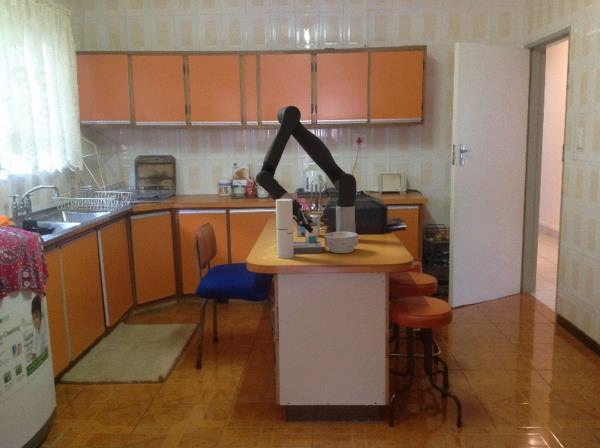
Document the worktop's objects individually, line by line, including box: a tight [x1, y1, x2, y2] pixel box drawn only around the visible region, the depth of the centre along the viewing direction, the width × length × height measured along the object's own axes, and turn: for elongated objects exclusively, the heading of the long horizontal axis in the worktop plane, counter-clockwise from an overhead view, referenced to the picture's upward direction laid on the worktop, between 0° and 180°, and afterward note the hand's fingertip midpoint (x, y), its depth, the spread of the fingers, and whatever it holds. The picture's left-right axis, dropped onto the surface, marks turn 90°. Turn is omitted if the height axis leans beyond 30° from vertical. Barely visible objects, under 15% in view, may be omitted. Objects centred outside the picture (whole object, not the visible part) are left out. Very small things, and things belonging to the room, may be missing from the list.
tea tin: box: [305, 222, 319, 244], centre depth 249 cm, size 6×6×10 cm
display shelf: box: [293, 240, 323, 254], centre depth 251 cm, size 17×13×4 cm
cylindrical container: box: [275, 199, 295, 259], centre depth 237 cm, size 7×7×25 cm
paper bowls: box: [323, 231, 359, 254], centre depth 246 cm, size 15×15×8 cm
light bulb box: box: [296, 214, 321, 238], centre depth 283 cm, size 11×7×11 cm, turn 68°
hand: (314, 229), depth 248 cm, fingers open, 8 cm apart
